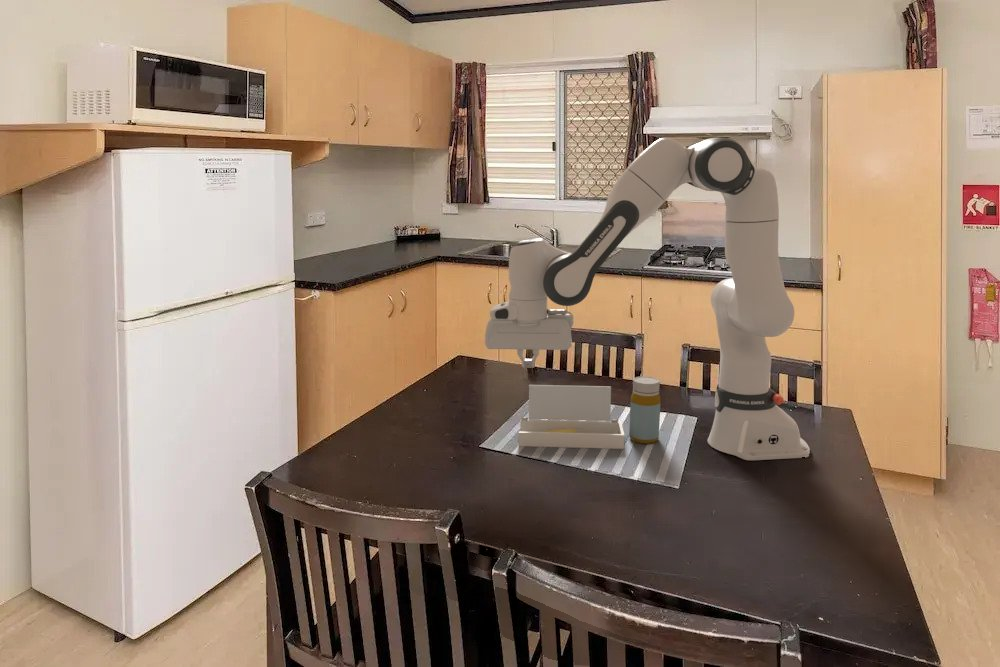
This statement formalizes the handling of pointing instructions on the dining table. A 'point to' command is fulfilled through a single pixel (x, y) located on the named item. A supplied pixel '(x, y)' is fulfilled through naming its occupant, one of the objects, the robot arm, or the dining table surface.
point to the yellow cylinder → (564, 431)
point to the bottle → (645, 410)
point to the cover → (570, 402)
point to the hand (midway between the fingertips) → (528, 367)
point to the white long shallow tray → (571, 434)
